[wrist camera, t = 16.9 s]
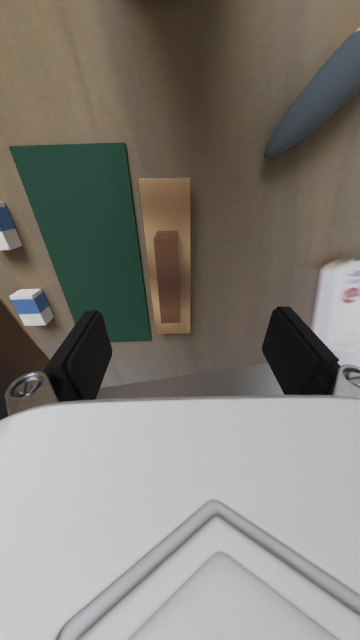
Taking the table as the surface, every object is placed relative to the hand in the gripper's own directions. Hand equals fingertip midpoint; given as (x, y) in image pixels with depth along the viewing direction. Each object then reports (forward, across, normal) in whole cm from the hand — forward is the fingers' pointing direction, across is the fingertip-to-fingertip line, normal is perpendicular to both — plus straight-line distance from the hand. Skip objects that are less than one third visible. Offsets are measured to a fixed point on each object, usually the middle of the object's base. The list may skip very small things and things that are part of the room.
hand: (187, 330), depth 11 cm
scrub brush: (+19, +2, +3) cm, 19 cm away
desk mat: (+19, +12, +3) cm, 22 cm away
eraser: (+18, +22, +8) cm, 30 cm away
